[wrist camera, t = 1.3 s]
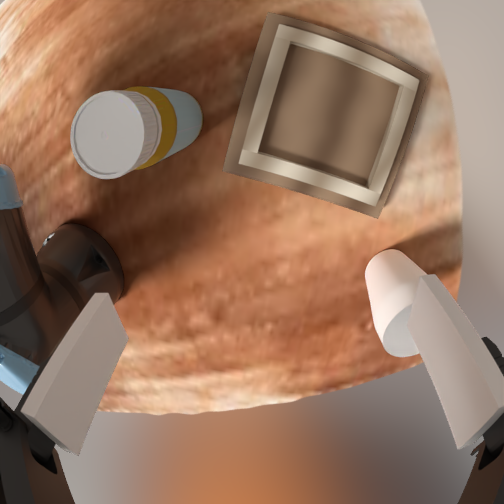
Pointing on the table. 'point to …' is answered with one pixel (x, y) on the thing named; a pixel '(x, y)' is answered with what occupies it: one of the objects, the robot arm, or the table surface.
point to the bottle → (133, 129)
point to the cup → (393, 299)
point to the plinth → (324, 115)
